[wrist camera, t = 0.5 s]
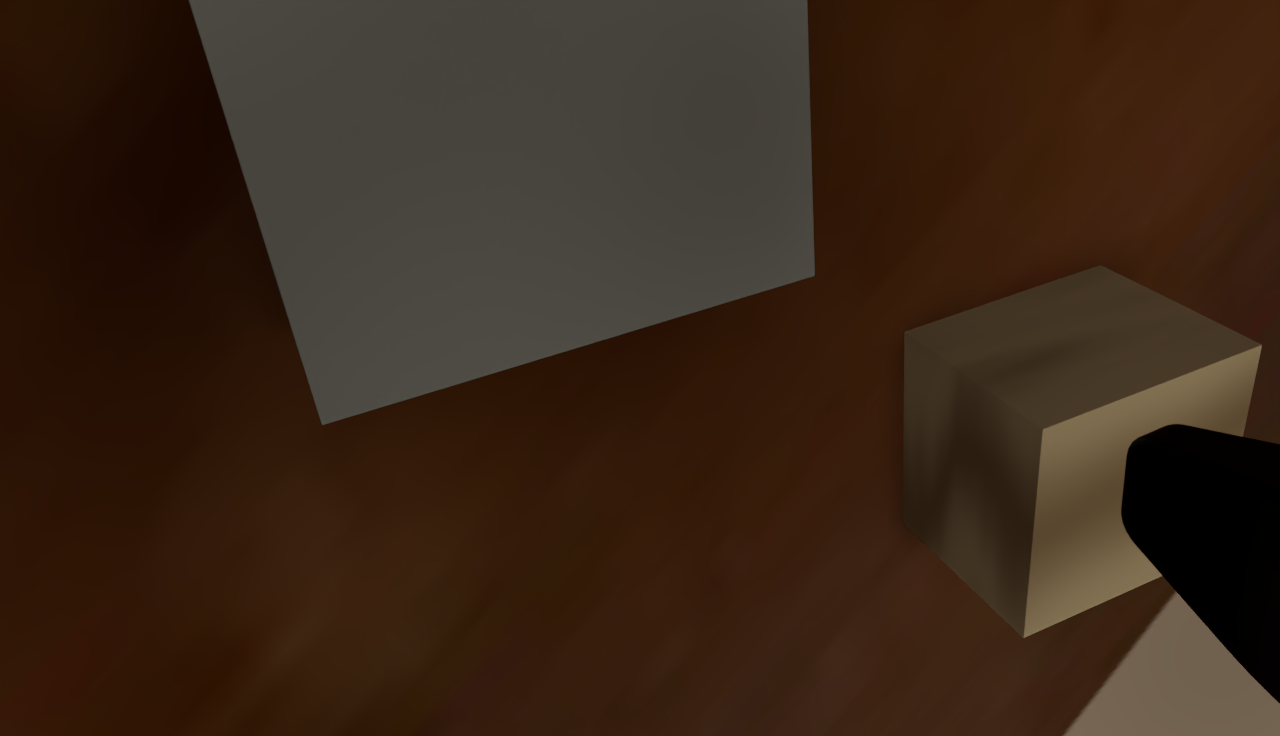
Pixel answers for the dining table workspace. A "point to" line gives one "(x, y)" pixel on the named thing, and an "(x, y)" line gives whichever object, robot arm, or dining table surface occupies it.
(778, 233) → the base block
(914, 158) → the dining table surface
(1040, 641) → the dining table surface
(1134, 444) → the robot arm
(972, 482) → the birch block
